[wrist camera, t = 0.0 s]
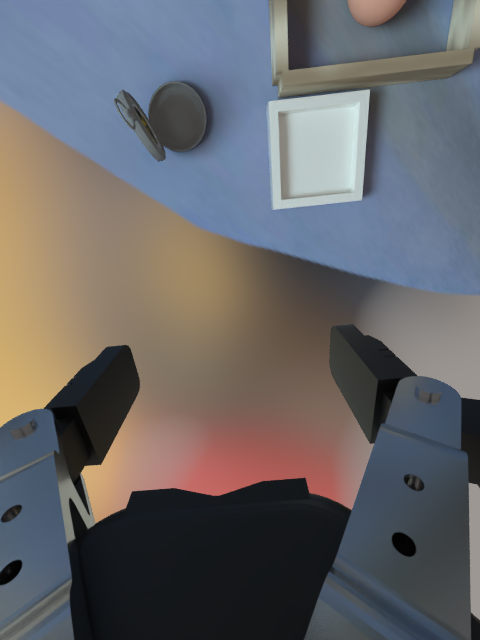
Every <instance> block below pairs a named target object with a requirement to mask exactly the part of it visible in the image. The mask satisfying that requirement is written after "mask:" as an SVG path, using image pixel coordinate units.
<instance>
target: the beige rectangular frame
mask: <svg viewBox="0 0 480 640" xmlns="http://www.w3.org/2000/svg"><path fill="white" fill-rule="evenodd" d="M269 13H270V37H271V62H272V86H275V85H278V98H284V97H292V96H301V95H309V94H318V93H326V92H335V91H343V90H352V89H360V88H369V87H377V86H386V85H394V84H403V83H411V82H420V81H428V80H437V79H445V78H448V77H450V76H452V75H453V74H455V73H457V72H458V71H460V70H462V69H463V68H465V67H467V66H468V65H470V64H472V60H473V55H474V51H476V50H477V49H479V48H480V0H454V3H453V10H452V16H451V23H450V29H449V35H448V42H447V48H446V51H445V52H437V53H429V54H420V55H412V56H404V57H395V58H387V59H379V60H370V61H362V62H354V63H346V64H337V65H329V66H321V67H312V68H304V69H296V70H288V26H287V0H269Z"/></svg>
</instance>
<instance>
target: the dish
mask: <svg viewBox="0 0 480 640" xmlns="http://www.w3.org/2000/svg"><path fill="white" fill-rule="evenodd" d="M369 97H370V90H361V91H353V92H344V93H336V94H327V95H319V96H310V97H302V98H293V99H285V100H276V101H269V102H268V105H267V128H268V149H269V169H270V190H271V209H273V210H275V209H284V208H294V207H303V206H312V205H322V204H331V203H341V202H350V201H359V200H362V193H363V180H364V166H365V152H366V138H367V125H368V111H369Z"/></svg>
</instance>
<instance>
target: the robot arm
mask: <svg viewBox="0 0 480 640" xmlns="http://www.w3.org/2000/svg"><path fill="white" fill-rule="evenodd" d="M330 369H331V374H332V376H333V378H334V380H335V382H336V384H337V385H338V387H339V389H340V391H341V393H342V394H343V396H344V398H345V400H346V401H347V403H348V405H349V407H350V409H351V410H352V412H353V414H354V416H355V418H356V419H357V421H358V423H359V425H360V427H361V428H362V430H363V432H364V434H365V435H366V437H367V439H368V441H369V443H370V444H372V443H374V446H373V449H372V452H371V455H370V458H369V461H368V464H367V467H366V470H365V473H364V476H363V479H362V482H361V485H360V488H359V491H358V494H357V497H356V500H355V503H354V506H353V508H352V510H350V509H349V508H347V507H345V506H343V505H342V504H340V503H338V502H336V501H333V500H331V499H329V498H326V497H323V496H320V495H316V494H311V493H309V491H308V487H307V482H306V478H298V479H285V480H273V481H262V482H259V483H256V484H253V485H250V486H247V487H244V488H241V489H238V490H235V491H233V492H230V493H227V494H223V495H220V496H211V495H206V494H201V493H196V492H191V491H186V490H181V489H175V488H171V489H158V490H147V491H146V490H145V491H133V492H132V493H131V496H130V499H129V502H128V504H127V507H126V508H125V509H123V510H120V511H118V512H116V513H114V514H112V515H110V516H108V517H106V518H104V519H103V520H101V521H99V522H98V523H96V524H95V520H94V516H93V512H92V509H91V505H90V501H89V497H88V493H87V489H86V485H85V481H84V478H83V476H82V474H81V472H82V470H83V468H84V466H88V465H101V463H102V462H103V460H104V458H105V456H106V454H107V452H108V450H109V449H110V447H111V445H112V443H113V441H114V439H115V437H116V435H117V433H118V431H119V429H120V427H121V425H122V423H123V422H124V420H125V418H126V416H127V414H128V412H129V410H130V408H131V406H132V404H133V402H134V401H135V399H136V397H137V395H138V392H139V388H140V380H139V377H138V373H137V369H136V366H135V362H134V359H133V355H132V352H131V349H130V348H129V346H127V345H122V346H111V347H106V348H105V349H104V350H103V351H102V352H101V354H100V355H99V356H98V357H97V358H96V359H95V360H94V361H92V362H91V363H89V364H87V365H86V366H84V367H83V368H82V369H81V370H80V371H79V372H78V373H77V374H76V375H75V376H74V378H73V379H71V380H70V381H69V382H68V383H67V386H65V387H64V388H63V389H62V390H61V391H60V392H59V393H58V394H57V395H56V396H55V397H54V398H53V399H52V400H51V401H50V402H49V403H48V404H47V405H46V407H45V408H44V409H37V410H32V411H29V412H26V413H23V414H21V415H19V416H17V417H15V418H13V419H12V420H10V421H8V422H7V423H6V424H4V425H3V426H2V427H1V428H0V640H480V620H479V619H478V618H476V617H475V616H474V615H473V614H472V613H471V606H470V550H469V547H470V546H469V486H468V485H469V484H468V483H473V484H477V485H478V486H479V487H480V400H475V399H467V398H461V397H460V395H459V394H458V392H457V391H456V390H455V389H453V388H452V387H451V386H449V385H447V384H446V383H444V382H441V381H439V380H436V379H433V378H428V377H422V376H417V375H416V374H415V373H414V372H413V371H412V370H411V369H410V368H409V367H408V366H406V365H405V364H404V363H403V362H402V361H401V360H400V359H399V358H398V357H396V356H395V354H394V353H393V352H392V351H390V350H389V349H388V348H387V347H386V346H385V345H384V344H383V343H382V342H381V341H379V340H377V339H375V338H373V337H371V336H369V335H366V336H364V335H363V334H362V333H361V332H360V331H359V330H358V329H357V328H356V327H355V326H354V325H353V324H350V325H339V326H332V328H331V335H330Z"/></svg>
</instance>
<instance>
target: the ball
mask: <svg viewBox="0 0 480 640" xmlns="http://www.w3.org/2000/svg"><path fill="white" fill-rule="evenodd" d="M405 2H406V0H348V5H349V9H350V12H351V14H352V16H353V18H354V19H355V20H356V21H357V22H358V23H359V24H361V25H363V26H368V27H374V26H378V25H381V24H383V23H385V22H386V21H388V20H389V19H391V18H392V17H393V16H394V15H395V14H396V13H397V12H398V11H399V10H400V9H401V8H402V6H403V5H404V3H405Z"/></svg>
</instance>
